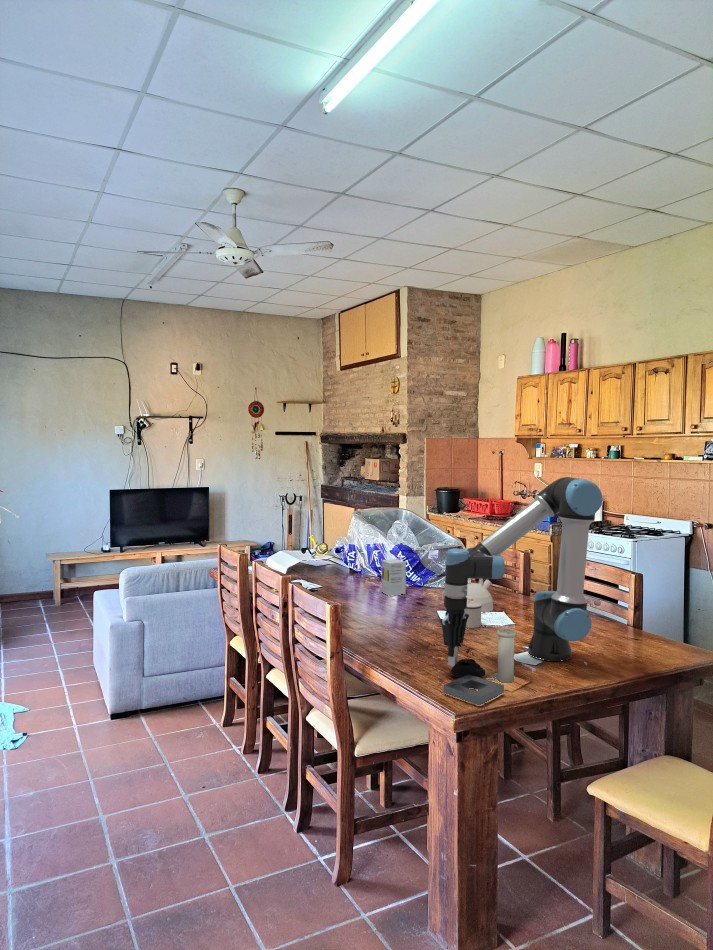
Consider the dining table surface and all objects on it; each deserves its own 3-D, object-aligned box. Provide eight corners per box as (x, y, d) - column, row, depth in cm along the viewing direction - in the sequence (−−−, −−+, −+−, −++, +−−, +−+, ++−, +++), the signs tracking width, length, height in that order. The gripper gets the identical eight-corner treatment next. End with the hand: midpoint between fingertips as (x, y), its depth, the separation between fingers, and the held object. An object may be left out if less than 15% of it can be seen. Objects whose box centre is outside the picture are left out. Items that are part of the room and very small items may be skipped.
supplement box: (380, 592, 327) (381, 559, 326) (396, 590, 330) (397, 558, 329) (389, 596, 318) (389, 563, 317) (406, 595, 322) (406, 561, 321)
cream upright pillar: (502, 676, 211) (503, 627, 210) (518, 680, 207) (519, 631, 206) (492, 680, 207) (493, 631, 206) (508, 685, 203) (509, 635, 202)
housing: (468, 683, 205) (468, 674, 205) (503, 695, 196) (504, 685, 196) (443, 694, 196) (443, 685, 196) (479, 707, 187) (479, 697, 187)
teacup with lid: (485, 627, 266) (485, 599, 266) (465, 629, 264) (465, 601, 263) (472, 619, 278) (473, 593, 277) (453, 621, 276) (453, 594, 275)
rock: (464, 696, 209) (452, 672, 218) (490, 680, 209) (477, 657, 217) (454, 681, 204) (442, 658, 212) (481, 665, 204) (468, 643, 212)
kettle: (503, 611, 292) (503, 571, 291) (463, 615, 285) (463, 575, 284) (478, 600, 311) (479, 563, 310) (440, 604, 303) (441, 566, 302)
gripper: (453, 601, 207) (449, 673, 208) (476, 595, 216) (473, 663, 218) (434, 596, 212) (431, 666, 214) (458, 590, 221) (455, 657, 223)
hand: (452, 665), depth 216 cm, fingers closed
